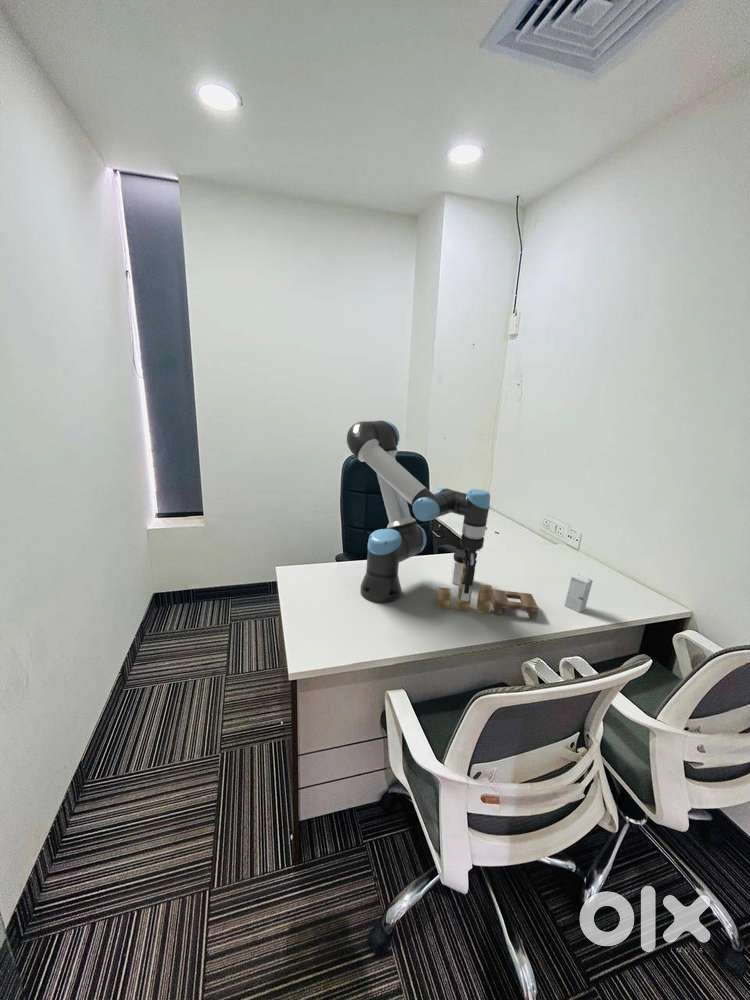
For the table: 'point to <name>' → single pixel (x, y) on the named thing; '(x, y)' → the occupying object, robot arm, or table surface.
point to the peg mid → (484, 598)
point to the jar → (457, 566)
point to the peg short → (444, 598)
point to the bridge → (502, 601)
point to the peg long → (461, 604)
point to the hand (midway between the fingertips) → (464, 596)
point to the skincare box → (578, 592)
